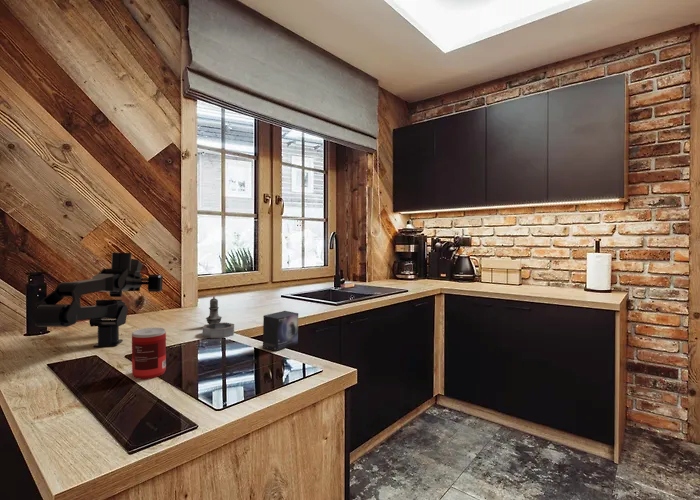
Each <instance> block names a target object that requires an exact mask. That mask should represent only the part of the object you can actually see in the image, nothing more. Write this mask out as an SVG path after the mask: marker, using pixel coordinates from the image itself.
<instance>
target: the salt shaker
mask: <svg viewBox="0 0 700 500" xmlns="http://www.w3.org/2000/svg"><path fill="white" fill-rule="evenodd" d="M208 309H209V316H207V317H206V318H205V320H206V322H207V324H212V323H221V320H222V318H223V316H221V315H219V300H218V299H217V298H216V297H215V296H213V298H211V299H210V301H209V307H208Z"/></svg>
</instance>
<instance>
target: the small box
mask: <svg viewBox="0 0 700 500" xmlns="http://www.w3.org/2000/svg"><path fill="white" fill-rule="evenodd" d="M262 318H263V320H262V321H263V324H262V328H263V329H262V330H263V332H262V349H267V350H271V351H275V352H278V351H281V350H283V349H286V348H289V347H293V346H295V345H297V344H299V313H298V312H293V311H288V310H282V311H278V312H273V313H270V314H269V313H268V314H264V315H263V317H262Z"/></svg>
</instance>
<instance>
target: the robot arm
mask: <svg viewBox="0 0 700 500" xmlns="http://www.w3.org/2000/svg"><path fill="white" fill-rule="evenodd" d="M142 267H143V263H142V262H141V261H140V260H139V259H136V258H135V259H134V258H132V252H112V253H111V265H110V268H103V269H102V270H101V271H99V272H98V274H96V275H93V276H92V278H89V279H84V280H83V279H82V280H75V281H63V282H59V283H58V285H57V286H56V288H55V289H54V290H53V291H52V292H50V293H49V294H48V295H46V296H45V297H43V298H42V299H41V300H40V302H39V303H38V304H37V307H36V308H35V309H34V311H33V312H32V320H33V322H34V323H35V326H36V327H39V328H44V327H45V328H67V327H70V326H73V325H75V324H77V321H86V320H89V321H88V322H89V326H90V327H91V328H92V327H97V342H96V343H95V344H94V345H93V348H102V347H105V348H106V347H117V346H118V345H119V344H121V343H122V342H123V341H124V339H123V338H122V339H119V338H120V335H119V334H120V330H119V329H120V327H121V326H124V325H126V322H127V316H128V311H129V309H128V306H127V305H126V302H125V301H123V299H96V300H95V304H94V305H87V306H86V305H85V306H82V304H81V300H80V299H81V297H82V296H83V295H89V294H93V293H99V292H109V297H110V298H122V296H123V292H140V291H141V287H142V286H143V285H144V286H145V285H147V290H148V292H149V293H151V292H153V293H154V292H156V293H157V292H158V293H160V292H162V291H163V283H164V282H163V279H164V278H163V277H164V276H163V275H162V274H149V276H148V278H147V277H145V278H144V277H143V274H141V271H142ZM64 298H72V301H71V302H70V304H64V303H63V304H58V303H60V301H62V300H63V299H64Z"/></svg>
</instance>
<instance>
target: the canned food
mask: <svg viewBox="0 0 700 500" xmlns="http://www.w3.org/2000/svg"><path fill="white" fill-rule="evenodd" d="M166 331H167V330H166V329H165V328H163V327H146V328H140V329H139V328H138V329H136V330H134V331H132V332H131V373H132V377H133V376H134V377H133V378H134V379H137V378H141V379H140V380H148V378H150V379H155V378H158V377H160V375H161V376H162V375H164V374H165V372H166V369H167V359H166V358H167V332H166ZM157 376H158V377H157ZM154 377H155V378H154Z"/></svg>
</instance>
